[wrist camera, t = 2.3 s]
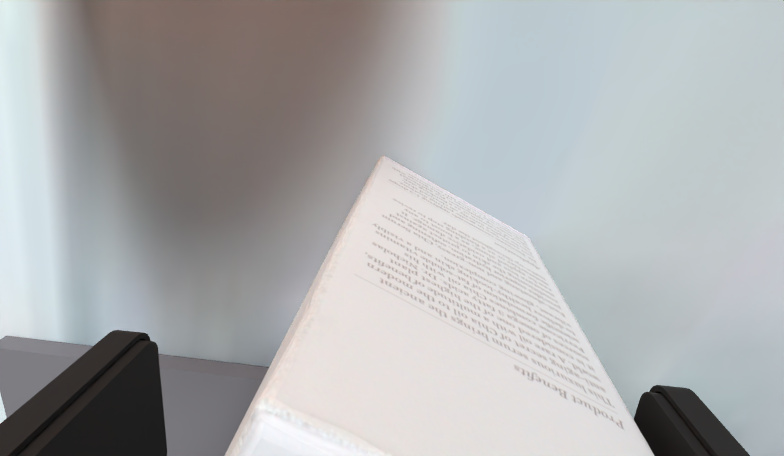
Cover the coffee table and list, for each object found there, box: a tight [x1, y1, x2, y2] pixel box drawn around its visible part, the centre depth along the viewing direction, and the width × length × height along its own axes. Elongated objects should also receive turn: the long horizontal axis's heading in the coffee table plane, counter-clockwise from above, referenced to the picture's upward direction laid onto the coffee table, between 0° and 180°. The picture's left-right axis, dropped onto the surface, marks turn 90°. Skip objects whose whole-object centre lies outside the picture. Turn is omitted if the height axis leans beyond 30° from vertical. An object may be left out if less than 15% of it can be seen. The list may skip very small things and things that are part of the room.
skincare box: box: [225, 156, 654, 456], centre depth 11 cm, size 6×4×12 cm
